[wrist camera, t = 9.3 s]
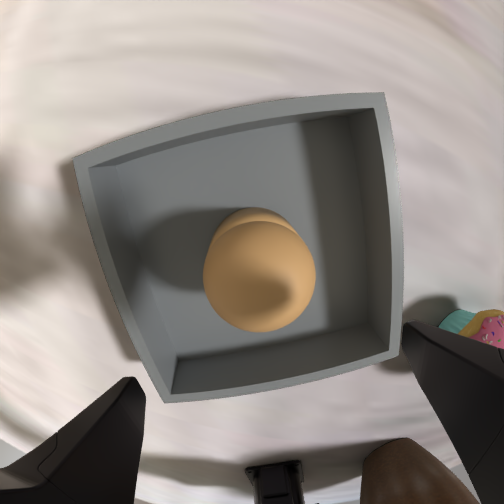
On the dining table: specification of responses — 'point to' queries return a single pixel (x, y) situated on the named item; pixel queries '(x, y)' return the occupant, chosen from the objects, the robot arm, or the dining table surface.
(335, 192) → the bin
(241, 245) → the tan oval piece
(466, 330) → the cupcake
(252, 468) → the robot arm
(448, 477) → the plant pot
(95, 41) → the dining table surface
